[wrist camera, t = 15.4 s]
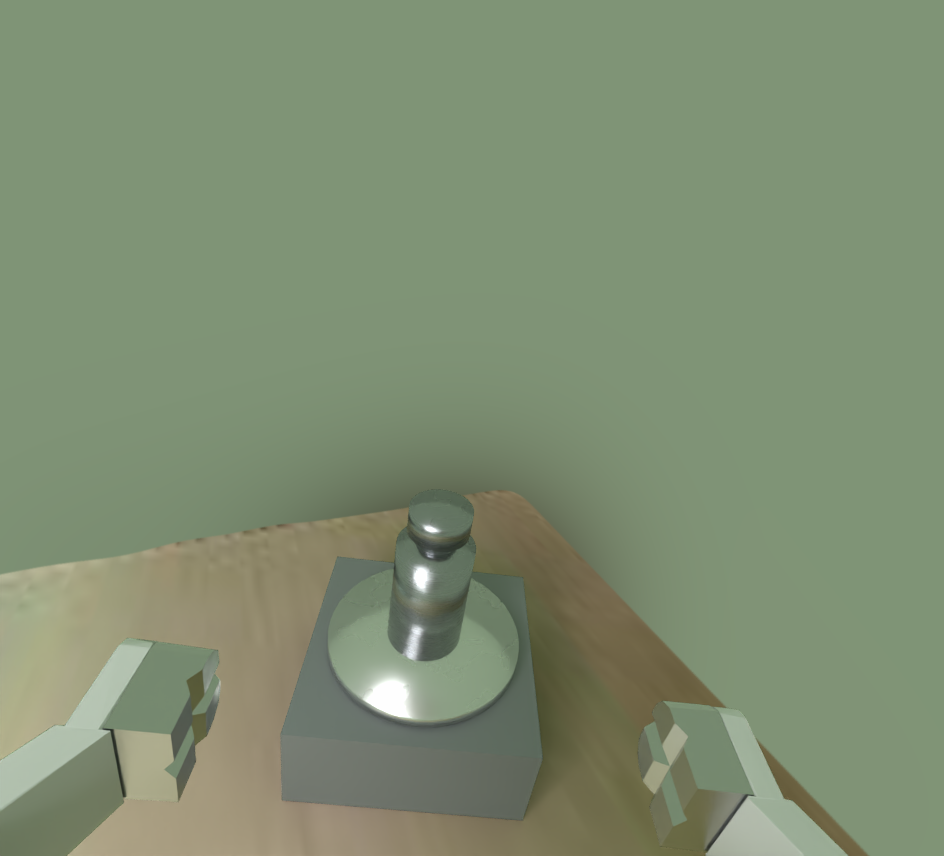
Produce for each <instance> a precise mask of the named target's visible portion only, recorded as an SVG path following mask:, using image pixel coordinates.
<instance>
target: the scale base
mask: <svg viewBox="0 0 944 856" xmlns="http://www.w3.org/2000/svg"><path fill="white" fill-rule="evenodd" d="M389 569H394V563H390V562H382V561H373V560H364V559H355V558H346V557H337V559H336V562H335V566H334V569H333V572H332V575H331V578H330V581H329V584H328V587H327V591H326V594H325V597H324V600H323V603H322V606H321V609H320V612H319V616H318V619H317V622H316V625H315V628H314V631H313V634H312V638H311V641H310V644H309V647H308V650H307V653H306V656H305V659H304V663H303V666H302V669H301V672H300V675H299V678H298V681H297V685H296V688H295V691H294V694H293V697H292V700H291V703H290V706H289V710H288V713H287V716H286V719H285V722H284V725H283V728H282V731H281V782H282V800H285V801H297V802H309V803H321V804H333V805H345V806H356V807H368V808H380V809H392V810H404V811H416V812H428V813H439V814H451V815H463V816H475V817H487V818H499V819H510V820H523V817H524V814H525V811H526V808H527V805H528V802H529V799H530V796H531V793H532V790H533V787H534V784H535V781H536V778H537V775H538V772H539V769H540V766H541V763H542V760H543V755H542V746H541V737H540V728H539V719H538V710H537V700H536V691H535V682H534V673H533V664H532V655H531V646H530V637H529V628H528V619H527V610H526V601H525V591H524V582H523V577H515V576H506V575H497V574H488V573H480V572H472V575H471V578H472V579H474V580H475V581H477V582H479V583H480V584H482V585H483V586H485V587H486V588H488V589H489V590H490V591H491V592H492V593H493V594H495V595H496V596H497V597H498V598H499V599H500V601H501V602H502V603H503V604H504V605H505V607H506V608H507V610H508V611H509V613H510V615H511V617H512V619H513V621H514V623H515V626H516V629H517V634H518V640H519V653H518V659H517V663H516V667H515V671H514V674H513V677H512V680H511V681H510V683H509V685H508V687H507V689H506V690H505V692H504V693H503V694H502V696H501V697H500V698H499V699H498V700H497V701H496V702H495V703H494V704H493V705H492V706H491V707H489V708H488V709H487V710H485V711H484V712H482V713H481V714H479V715H477V716H475V717H473V718H471V719H469V720H466V721H464V722H461V723H458V724H454V725H449V726H445V727H435V728H417V727H409V726H403V725H399V724H395V723H392V722H388V721H386V720H383V719H381V718H379V717H376V716H374V715H373V714H371V713H369V712H368V711H366V710H364V709H363V708H361V707H360V706H359V705H358V704H356V703H355V702H354V701H353V700H352V699H351V698H350V697H349V696H348V695H347V694H346V693H345V692H344V691H343V689H342V688H341V687H340V685H339V684H338V682H337V680H336V678H335V676H334V674H333V672H332V670H331V666H330V663H329V658H328V651H327V649H328V629H329V624H330V620H331V618H332V615H333V612H334V610H335V609H336V607H337V605H338V603H339V602H340V601H341V600H342V598H343V597H344V596H345V595H346V594H347V593H348V592H349V591H350V590H351V589H352V588H353V587H354V586H356V585H357V584H358V583H360V582H361V581H363V580H365V579H367V578H368V577H370V576H373V575H375V574H377V573H380V572H383V571H386V570H389Z"/></svg>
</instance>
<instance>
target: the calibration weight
mask: <svg viewBox="0 0 944 856" xmlns="http://www.w3.org/2000/svg"><path fill="white" fill-rule="evenodd" d="M473 516H474V509H473V506H472V504H471V503H470V502H469V501H468V500H467V499H466V498H465V497H463V496H461V495H459V494H457V493H455V492H452V491H447V490H427V491H424V492H421V493H419V494H417V495H415V496H414V497H413V499H412V500H411V501H410V505H409V514H408V523H407V527H405V528H404V529H403V530H402V531H401V532H400V533H399V535H398V537H397V542H396V552H395V562H394V571H393V581H392V590H391V600H390V610H389V619H388V629H387V633H388V638H389V641H390V643H391V644H392V646H393V647H394V648H395V649H396V650H397V651H398V652H399V653H400V654H402V655H404V656H405V657H407V658H410V659H413V660H417V661H434V660H438V659H441V658H443V657H445V656H447V655H449V654H450V653H451V652H452V651H453V650H454V649H455V648H456V646H457V644H458V642H459V639H460V634H461V628H462V623H463V618H464V612H465V607H466V602H467V596H468V591H469V586H470V581H471V575H472V570H473V565H474V559H475V554H476V545H475V542H474V540H473V538H472V537H471V536H470V533H471V527H472V521H473Z"/></svg>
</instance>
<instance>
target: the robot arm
mask: <svg viewBox="0 0 944 856" xmlns="http://www.w3.org/2000/svg"><path fill="white" fill-rule="evenodd" d="M218 664H219V655H218V650H213V649H206V648H199V647H192V646H185V645H178V644H171V643H164V642H157V641H149V640H141V639H133V638H127V639H126V640H124V641H123V642H122V643H121V644H120V645H119V646H118V647H117V648H116V650H115V651H114V653H113V654H112V656H111V657H110V659H109V660H108V662H107V663H106V665H105V666H104V668H103V669H102V671H101V672H100V674H99V675H98V677H97V678H96V679H95V681H94V682H93V684H92V685H91V687H90V688H89V690H88V691H87V693H86V694H85V696H84V697H83V699H82V700H81V702H80V703H79V705H78V706H77V708H76V709H75V711H74V712H73V714H72V715H71V717H70V718H69V720H68V721H67V723H66V724H65V726H64V725H54V726H52V727H51V728H49V729H48V730H46V731H45V732H43V733H42V734H40V735H39V736H37V737H36V738H34V739H32V740H31V741H29V742H28V743H26V744H25V745H23V746H22V747H20V748H19V749H17V750H16V751H14V752H12V753H11V754H9V755H8V756H6V757H5V758H3V759H2V760H0V856H67V855H68V854H69V853H70V852H71V851H72V850H73V849H74V848H76V847H77V846H78V845H79V844H80V843H81V842H82V841H83V840H84V839H85V838H86V837H87V836H88V835H90V834H91V833H92V832H93V831H94V830H95V829H96V828H97V827H98V826H99V825H100V824H101V823H102V822H103V821H105V820H106V819H107V818H108V817H109V816H110V815H111V814H112V813H113V812H114V811H115V810H116V809H117V808H119V807H120V806H121V805H122V804H123V803H124V799H134V800H150V801H166V802H179V800H180V797H181V795H182V793H183V790H184V788H185V786H186V783H187V781H188V779H189V776H190V774H191V772H192V769H193V767H194V765H195V763H196V757H195V745H196V744H197V743H199V742H200V741H201V740H202V739H204V738H205V737H206V736H207V734H208V732H209V729H210V727H211V724H212V722H213V720H214V716H215V712H216V709H217V705H218V702H219V694H220V679H219V678H218V677H217V676H216V675H215V674H214V673H215V671H216V669H217V667H218ZM652 714H653V717H654V722H653V723H651V724H649V725H647V726H646V727H644V729H643V731H642V734H641V736H640V738H639V745H638V761H639V768H640V772H641V776H642V780H643V782H644V783H645V784H646V785H647V787H648V788H649V789H650V790H651V791H652V793H653V794H654V796H653V799H652V801H651V804H650V806H649V807H650V811H651V814H652V818H653V822H654V825H655V829H656V833H657V836H658V840H659V844H660V847H666V848H674V849H682V850H690V851H698V852H706V856H848V855H847V854H846V853H845V852H844V851H843V850H842V849H841V848H840V847H839V846H838V845H837V844H836V843H835V842H834V841H833V840H832V839H831V838H830V837H829V836H828V835H827V834H826V833H825V832H824V831H823V830H822V829H821V828H820V827H819V826H818V825H817V824H816V823H815V822H814V821H813V820H812V819H811V818H809V817H808V816H807V815H806V814H805V813H804V812H803V811H802V810H801V809H800V808H799V807H798V806H797V805H796V804H795V803H794V802H793V801H792V800H786V799H784V798H783V795H782V793H781V791H780V789H779V787H778V785H777V783H776V781H775V779H774V776H773V774H772V772H771V770H770V768H769V766H768V764H767V762H766V760H765V757H764V755H763V753H762V751H761V749H760V747H759V745H758V743H757V740H756V738H755V736H754V734H753V732H752V730H751V728H750V726H749V724H748V722H747V719H746V717H745V716H744V715H743V713H741V711H740V710H737V709H730V708H720V707H711V706H709V705H699V704H689V703H679V702H669V701H661V702H659V703H657V704H656V706H655V708H654V710H653V712H652Z"/></svg>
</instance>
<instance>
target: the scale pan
mask: <svg viewBox="0 0 944 856" xmlns="http://www.w3.org/2000/svg"><path fill="white" fill-rule="evenodd" d="M393 571H394V569H389V570H386V571H383V572H380V573H377V574H375V575H373V576H370V577H368V578H367V579H365V580H363V581H361V582H360V583H358V584H357V585H356V586H354V587H353V588H352V589H351V590H350V591H349V592H348V593H347V594H346V595H345V596H344V597H343V598H342V600H341V601H340V602H339V603H338V605H337V607H336V609H335V610H334V612H333V615H332V618H331V620H330V624H329V629H328V649H327V651H328V658H329V663H330V666H331V670H332V672H333V674H334V676H335V678H336V680H337V682H338V684H339V685H340V687H341V688H342V689H343V691H344V692H345V693H346V694H347V695H348V696H349V697H350V698H351V699H352V700H353V701H354V702H355V703H356V704H358V705H359V706H360V707H361V708H363V709H364V710H366V711H368V712H369V713H371V714H373V715H374V716H376V717H379V718H381V719H383V720H386V721H388V722H392V723H395V724H399V725H403V726H409V727H417V728H435V727H445V726H449V725H454V724H458V723H461V722H464V721H466V720H469V719H471V718H473V717H475V716H477V715H479V714H481V713H482V712H484V711H485V710H487V709H488V708H489V707H491V706H492V705H493V704H494V703H495V702H496V701H497V700H498V699H499V698H500V697H501V696H502V694H503V693H504V692H505V690H506V689H507V687H508V685H509V683H510V681H511V680H512V677H513V674H514V671H515V667H516V663H517V659H518V653H519V640H518V634H517V629H516V626H515V623H514V621H513V619H512V617H511V615H510V613H509V611H508V610H507V608H506V607H505V605H504V604H503V603H502V602H501V601H500V599H499V598H498V597H497V596H496V595H495V594H493V593H492V592H491V591H490V590H489V589H488V588H486V587H485V586H483V585H482V584H480V583H479V582H477V581H475V580H474V579H472V578H471V581H470V586H469V591H468V596H467V602H466V607H465V612H464V618H463V623H462V628H461V634H460V639H459V642H458V644H457V646H456V648H455V649H454V650H453V651H452V652H451V653H450V654H449V655H447V656H445V657H443V658H441V659H438V660H434V661H417V660H413V659H410V658H407V657H405V656H404V655H402V654H400V653H399V652H398V651H397V650H396V649H395V648H394V647H393V646H392V644H391V643H390V641H389V638H388V633H387V629H388V619H389V610H390V600H391V590H392V581H393Z"/></svg>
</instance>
